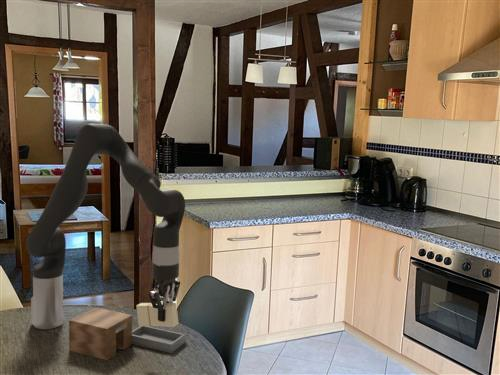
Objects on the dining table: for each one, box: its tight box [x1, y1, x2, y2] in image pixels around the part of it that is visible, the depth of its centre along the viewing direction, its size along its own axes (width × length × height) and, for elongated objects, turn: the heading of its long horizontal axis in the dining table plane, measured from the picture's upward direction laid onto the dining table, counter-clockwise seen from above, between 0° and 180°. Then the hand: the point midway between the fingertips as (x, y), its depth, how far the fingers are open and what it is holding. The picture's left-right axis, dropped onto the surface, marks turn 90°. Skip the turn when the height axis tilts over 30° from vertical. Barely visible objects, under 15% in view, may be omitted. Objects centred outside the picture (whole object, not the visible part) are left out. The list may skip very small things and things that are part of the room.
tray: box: [131, 326, 186, 354], centre depth 155 cm, size 16×8×3 cm, turn 68°
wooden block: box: [68, 306, 133, 361], centre depth 149 cm, size 15×12×10 cm
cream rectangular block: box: [136, 302, 180, 328], centre depth 141 cm, size 12×3×6 cm, turn 68°
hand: (164, 319), depth 140 cm, fingers closed on cream rectangular block, 2 cm apart
